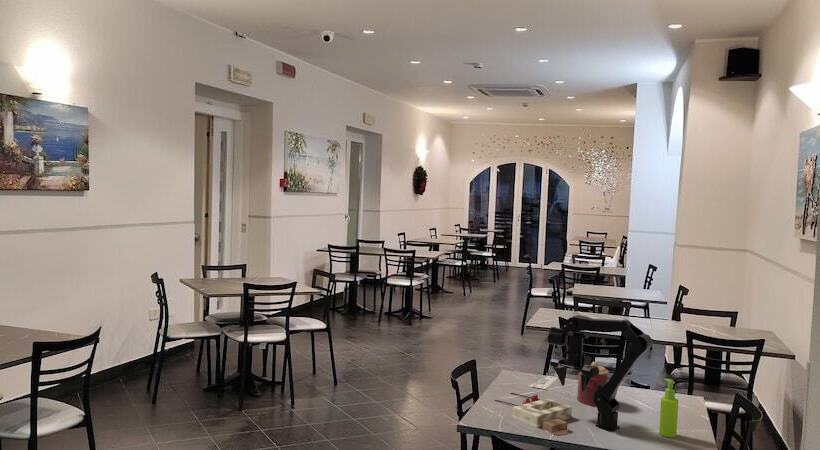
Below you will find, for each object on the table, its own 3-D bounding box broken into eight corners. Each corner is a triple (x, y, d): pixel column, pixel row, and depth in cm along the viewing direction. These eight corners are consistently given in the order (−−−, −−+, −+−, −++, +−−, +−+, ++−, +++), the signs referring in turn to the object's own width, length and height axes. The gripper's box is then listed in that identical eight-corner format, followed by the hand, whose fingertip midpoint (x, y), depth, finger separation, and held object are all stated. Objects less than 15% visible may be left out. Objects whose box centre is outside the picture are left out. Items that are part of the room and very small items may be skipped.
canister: (611, 410, 259) (613, 367, 258) (578, 407, 261) (580, 364, 260) (606, 400, 272) (608, 359, 271) (575, 397, 274) (577, 356, 273)
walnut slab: (557, 425, 236) (558, 418, 236) (567, 429, 232) (567, 422, 232) (542, 428, 231) (542, 422, 231) (551, 432, 228) (552, 426, 228)
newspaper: (534, 378, 302) (534, 373, 302) (560, 383, 297) (560, 377, 296) (519, 390, 282) (519, 384, 282) (546, 395, 277) (546, 389, 276)
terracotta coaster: (573, 433, 231) (573, 430, 231) (557, 438, 226) (557, 435, 226) (553, 425, 238) (553, 422, 238) (537, 430, 233) (537, 427, 233)
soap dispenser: (670, 430, 237) (673, 377, 237) (679, 437, 231) (682, 383, 230) (655, 430, 237) (658, 377, 236) (663, 437, 230) (666, 382, 229)
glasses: (524, 414, 251) (524, 401, 251) (487, 404, 261) (488, 392, 261) (540, 405, 262) (540, 393, 262) (504, 396, 272) (505, 385, 272)
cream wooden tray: (546, 410, 255) (547, 398, 255) (571, 419, 245) (571, 406, 245) (512, 420, 243) (512, 407, 242) (536, 429, 233) (537, 416, 233)
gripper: (608, 350, 243) (606, 391, 244) (567, 341, 257) (565, 379, 258) (591, 354, 236) (589, 396, 236) (550, 344, 250) (548, 384, 250)
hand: (573, 388), depth 245 cm, fingers open, 9 cm apart
